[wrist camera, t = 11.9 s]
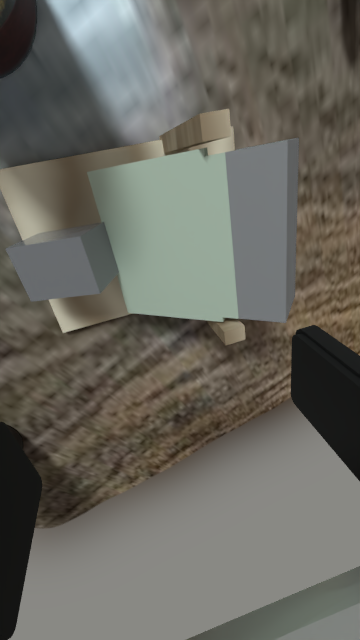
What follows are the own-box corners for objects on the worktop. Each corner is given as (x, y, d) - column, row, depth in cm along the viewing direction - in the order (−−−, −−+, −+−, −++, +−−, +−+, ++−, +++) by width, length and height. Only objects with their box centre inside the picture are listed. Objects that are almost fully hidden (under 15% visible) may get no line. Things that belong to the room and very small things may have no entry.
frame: (229, 123, 30) (305, 95, 19) (241, 283, 38) (297, 323, 28) (-7, 166, 26) (-71, 160, 16) (64, 332, 34) (54, 399, 24)
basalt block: (80, 236, 23) (5, 248, 24) (100, 293, 25) (31, 301, 27) (103, 221, 27) (38, 233, 28) (119, 272, 29) (58, 279, 31)
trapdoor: (299, 129, 21) (287, 130, 17) (294, 300, 28) (285, 328, 24) (121, 165, 29) (86, 171, 25) (151, 292, 36) (128, 312, 32)
